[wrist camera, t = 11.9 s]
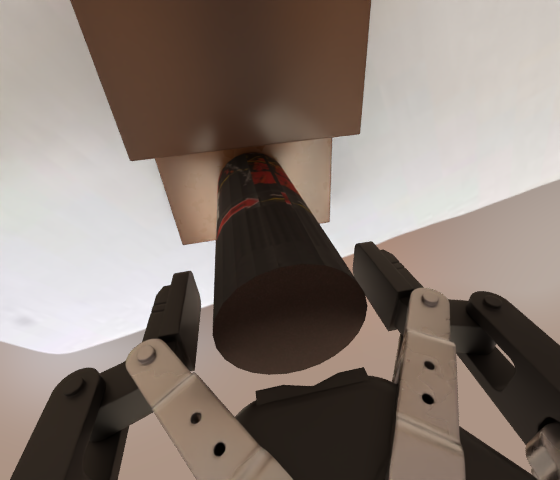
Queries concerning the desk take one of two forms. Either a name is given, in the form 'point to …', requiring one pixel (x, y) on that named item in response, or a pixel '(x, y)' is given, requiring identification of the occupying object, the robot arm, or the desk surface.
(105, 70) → the step shelf
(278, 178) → the deodorant
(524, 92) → the desk surface
